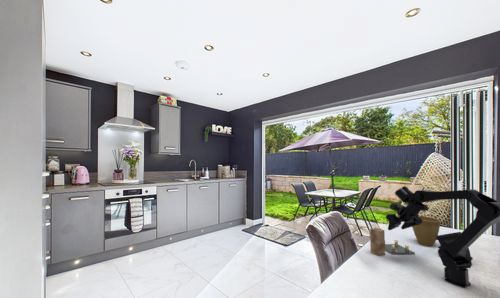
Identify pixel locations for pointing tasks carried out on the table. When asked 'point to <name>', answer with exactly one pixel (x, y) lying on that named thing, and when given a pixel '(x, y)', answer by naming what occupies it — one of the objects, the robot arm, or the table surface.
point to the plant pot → (427, 231)
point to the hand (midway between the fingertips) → (395, 229)
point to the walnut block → (377, 241)
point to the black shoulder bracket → (450, 238)
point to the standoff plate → (398, 249)
